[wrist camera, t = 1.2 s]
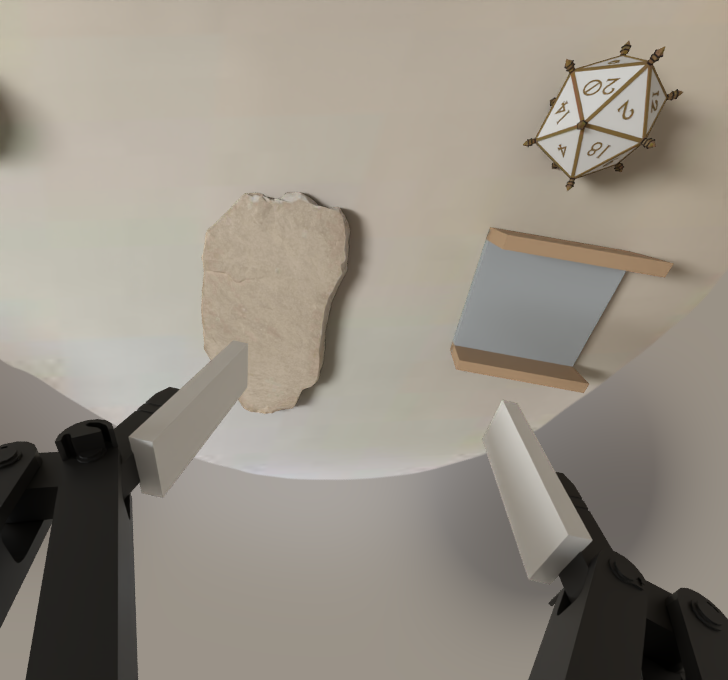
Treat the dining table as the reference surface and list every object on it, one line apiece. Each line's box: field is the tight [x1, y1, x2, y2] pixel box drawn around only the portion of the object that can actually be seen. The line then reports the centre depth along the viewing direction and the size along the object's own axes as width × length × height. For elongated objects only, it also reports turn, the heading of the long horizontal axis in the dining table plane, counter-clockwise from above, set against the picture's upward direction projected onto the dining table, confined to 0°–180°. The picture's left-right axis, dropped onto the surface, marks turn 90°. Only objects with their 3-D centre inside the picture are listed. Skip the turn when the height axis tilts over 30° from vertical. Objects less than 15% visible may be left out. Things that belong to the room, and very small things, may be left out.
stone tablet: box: [201, 192, 350, 414], centre depth 37 cm, size 16×30×2 cm, turn 164°
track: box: [450, 227, 673, 393], centre depth 31 cm, size 14×14×6 cm
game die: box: [523, 41, 683, 191], centre depth 23 cm, size 9×8×10 cm
